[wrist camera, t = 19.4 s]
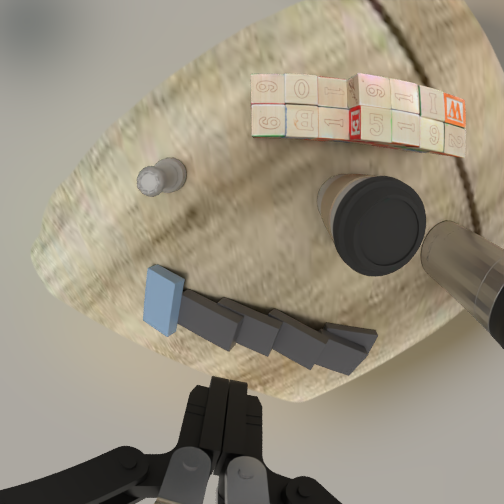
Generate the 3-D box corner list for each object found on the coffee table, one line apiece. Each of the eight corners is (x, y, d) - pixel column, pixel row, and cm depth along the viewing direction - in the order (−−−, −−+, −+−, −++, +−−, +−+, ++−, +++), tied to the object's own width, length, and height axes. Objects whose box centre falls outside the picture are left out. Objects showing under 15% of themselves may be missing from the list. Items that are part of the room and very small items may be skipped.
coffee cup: (386, 204, 35) (450, 239, 21) (337, 247, 37) (378, 305, 23) (346, 151, 33) (402, 156, 19) (293, 197, 35) (317, 232, 21)
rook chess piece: (174, 198, 35) (152, 212, 28) (148, 178, 34) (121, 187, 27) (194, 170, 34) (176, 177, 27) (167, 150, 33) (143, 152, 26)
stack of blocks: (252, 139, 33) (248, 134, 21) (252, 90, 31) (248, 62, 19) (411, 151, 32) (467, 159, 21) (411, 107, 30) (467, 99, 19)
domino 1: (188, 288, 40) (244, 316, 37) (183, 316, 42) (235, 344, 39) (180, 293, 38) (237, 323, 35) (175, 322, 40) (228, 351, 37)
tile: (184, 279, 37) (176, 331, 40) (157, 264, 39) (151, 315, 42) (175, 283, 35) (167, 337, 38) (147, 267, 37) (143, 320, 40)
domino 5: (320, 328, 40) (364, 346, 41) (302, 351, 42) (346, 367, 43) (323, 336, 38) (368, 354, 40) (303, 359, 40) (348, 375, 41)
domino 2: (223, 296, 40) (282, 322, 38) (216, 324, 42) (272, 349, 40) (217, 302, 38) (278, 329, 36) (210, 330, 40) (268, 356, 38)
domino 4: (325, 320, 42) (374, 328, 42) (314, 345, 44) (361, 351, 44) (327, 327, 40) (378, 335, 41) (316, 352, 42) (365, 358, 42)
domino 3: (274, 308, 41) (329, 337, 38) (263, 334, 42) (314, 363, 39) (268, 313, 39) (326, 344, 36) (257, 339, 41) (310, 370, 37)
